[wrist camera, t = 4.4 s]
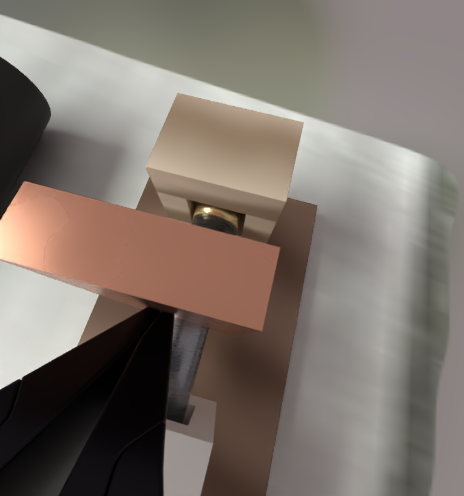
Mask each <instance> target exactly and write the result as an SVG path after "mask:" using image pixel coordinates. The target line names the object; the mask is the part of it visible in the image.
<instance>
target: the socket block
mask: <svg viewBox="0 0 464 496" xmlns="http://www.w3.org/2000/svg"><path fill="white" fill-rule="evenodd" d="M303 124H304V123H303V122H299V121H295V120H291V119H286V118H282V117H278V116H274V115H269V114H265V113H261V112H257V111H252V110H248V109H244V108H239V107H235V106H231V105H227V104H222V103H218V102H214V101H210V100H205V99H201V98H197V97H193V96H188V95H184V94H180V93H177V96H176V98H175V100H174V103H173V105H172V107H171V109H170V112H169V114H168V116H167V118H166V121H165V123H164V125H163V128H162V130H161V132H160V134H159V137H158V139H157V141H156V143H155V146H154V148H153V150H152V153H151V155H150V157H149V159H148V162H147V164H146V166H145V167H146V169H147V171H148V174H149V176H150V178H151V180H152V182H153V185H154V187H155V189H156V191H157V194H158V196H159V198H160V200H161V202H162V205H163V207H164V209H165V211H166V214H167V216H168V218H169V219H173V220H177V221H180V222H184V223H188V224H191V222H192V220H193V215H194V213H195V210H196V207H197V204H198V202H200V203H204V204H207V205H211V206H215V207H219V208H223V209H227V210H231V211H235V212H239V213H240V215H241V218H240V222H239V226H238V229H237V232H236V235H235V236H238V237H242V238H246V239H250V240H254V241H257V242H261V243H265V244H266V243H267V241H268V239H269V237H270V235H271V233H272V231H273V229H274V226H275V224H276V222H277V220H278V218H279V216H280V214H281V212H282V209H283V207H284V205H285V203H286V200H287V195H288V191H289V186H290V182H291V177H292V173H293V168H294V164H295V159H296V155H297V151H298V146H299V142H300V137H301V133H302V128H303Z"/></svg>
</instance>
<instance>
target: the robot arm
mask: <svg viewBox="0 0 464 496" xmlns="http://www.w3.org/2000/svg"><path fill="white" fill-rule="evenodd" d="M174 318H175V315H174V314H172V313H169V312H165V311H160V310H158V309H154V308H151V307H146V308H144V309H142V310H141V311H139V312H137V313H135V314H134V315H132V316H130V317H128V318H126V319H125V320H123V321H121V322H119V323H118V324H116V325H114V326H112V327H110V328H109V329H107V330H105V331H103V332H102V333H100V334H98V335H96V336H95V337H93V338H91V339H89V340H87V341H86V342H84V343H82V344H80V345H79V346H77V347H75V348H73V349H71V350H70V351H68V352H66V353H64V354H63V355H61V356H59V357H57V358H56V359H54V360H52V361H50V362H48V363H47V364H45V365H43V366H41V367H40V368H38V369H36V370H34V371H32V372H31V373H29V374H27V375H25V376H24V377H23V378H22V380H20V379H18V380H16V381H15V382H13V383H11V384H9V385H7V386H6V387H4V388H2V389H0V496H164V449H165V433H166V419H167V406H168V394H169V381H170V368H171V356H172V343H173V331H174Z"/></svg>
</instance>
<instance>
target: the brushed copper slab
mask: <svg viewBox="0 0 464 496" xmlns="http://www.w3.org/2000/svg"><path fill="white" fill-rule="evenodd" d="M240 218H241V215H240V213H239V212H235V211H231V210H227V209H223V208H219V207H215V206H211V205H207V204H204V203H200V202H198V204H197V207H196V210H195V213H194V215H193V220H192V222H191V224H188V223H184V222H180V221H177V220H173V219H169V218H165V217H161V216H157V215H154V214H150V213H146V212H142V211H138V210H134V209H130V208H127V207H123V206H119V205H115V204H111V203H107V202H103V201H100V200H96V199H92V198H88V197H84V196H80V195H76V194H73V193H69V192H65V191H61V190H57V189H53V188H50V187H46V186H42V185H38V184H34V183H30V182H26V181H24V182H23V184H22V186H21V187H20V189H19V191H18V192H17V194H16V196H15V197H14V199H13V201H12V202H11V204H10V206H9V207H8V209H7V211H6V212H5V214H4V215H3V217H2V219H1V220H0V260H1V261H4V262H7V263H10V264H13V265H15V266H18V267H21V268H24V269H27V270H30V271H33V272H36V273H38V274H41V275H44V276H47V277H50V278H53V279H56V280H59V281H61V282H64V283H67V284H70V285H73V286H76V287H79V288H82V289H85V290H87V291H90V292H93V293H96V294H99V295H102V296H105V297H108V298H110V299H113V300H116V301H119V302H122V303H125V304H128V305H131V306H133V307H136V308H139V309H144V308H146V307H151V308H154V309H158V310H160V311H165V312H169V313H172V314H174V315H175V318H174V331H173V343H172V356H171V368H170V381H169V394H168V406H167V420H171V421H174V422H178V423H181V424H183V420H184V417H185V413H186V410H187V406H188V402H189V399H190V395H191V392H192V388H193V385H194V381H195V377H196V374H197V370H198V367H199V363H200V360H201V356H202V352H203V349H204V345H205V342H206V338H207V335H208V331H209V328H210V329H213V330H217V331H220V332H224V333H228V334H231V335H241V334H248V333H254V332H261V331H262V329H263V325H264V320H265V315H266V311H267V306H268V302H269V297H270V292H271V288H272V283H273V279H274V274H275V269H276V265H277V260H278V256H279V251H280V247H277V246H273V245H269V244H265V243H261V242H257V241H254V240H250V239H246V238H242V237H238V236H235V235H236V232H237V229H238V226H239V222H240Z"/></svg>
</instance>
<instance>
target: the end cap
mask: <svg viewBox="0 0 464 496" xmlns="http://www.w3.org/2000/svg"><path fill="white" fill-rule="evenodd" d="M50 117H51V111H50V107H49V104H48V102H47V100H46V99H45V97H44V96H43V94H42V93H41V92H40V90H39V89H38V88H37V87H36V86H35V85H34V84H33V83H32V82H31V81H30V80H29V79H28V78H27V77H26V76H25V75H24V74H23V73H22V72H20V71H19V70H18V69H17V68H15V67H14V66H13V65H11V64H10V63H9V62H7V61H6V60H4V59H3V58H1V57H0V208H1V207H2V205H3V203H4V201H5V199H6V198H7V196H8V194H9V192H10V190H11V188H12V187H13V185H14V183H15V181H16V179H17V178H18V176H19V174H20V172H21V170H22V169H23V167H24V165H25V163H26V161H27V160H28V158H29V156H30V154H31V152H32V151H33V149H34V147H35V145H36V143H37V142H38V140H39V138H40V136H41V134H42V133H43V131H44V129H45V127H46V125H47V124H48V122H49V120H50Z"/></svg>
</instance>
